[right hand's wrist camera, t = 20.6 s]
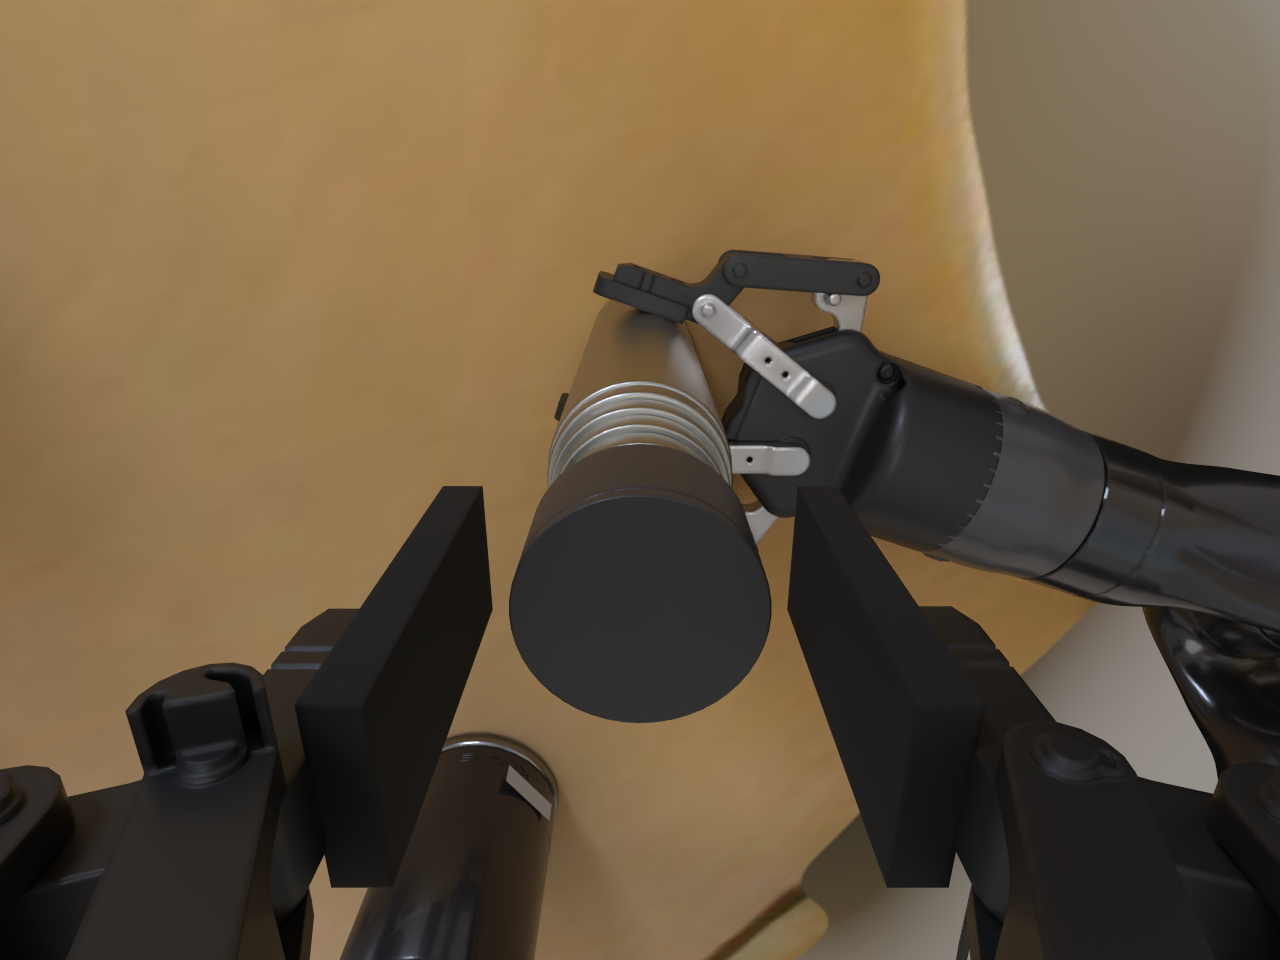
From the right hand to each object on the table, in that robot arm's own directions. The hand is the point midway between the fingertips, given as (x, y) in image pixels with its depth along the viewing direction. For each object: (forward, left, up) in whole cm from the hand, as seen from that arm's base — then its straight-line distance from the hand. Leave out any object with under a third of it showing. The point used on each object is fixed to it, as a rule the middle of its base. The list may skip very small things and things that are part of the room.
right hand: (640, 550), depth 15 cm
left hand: (-1, +2, -17) cm, 17 cm away
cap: (0, 0, 0) cm, 0 cm away
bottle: (0, 0, -24) cm, 24 cm away
